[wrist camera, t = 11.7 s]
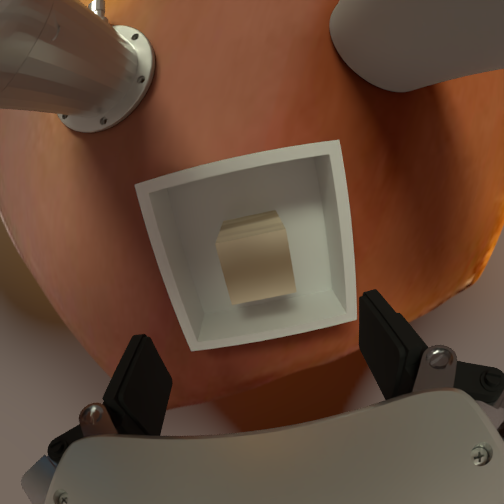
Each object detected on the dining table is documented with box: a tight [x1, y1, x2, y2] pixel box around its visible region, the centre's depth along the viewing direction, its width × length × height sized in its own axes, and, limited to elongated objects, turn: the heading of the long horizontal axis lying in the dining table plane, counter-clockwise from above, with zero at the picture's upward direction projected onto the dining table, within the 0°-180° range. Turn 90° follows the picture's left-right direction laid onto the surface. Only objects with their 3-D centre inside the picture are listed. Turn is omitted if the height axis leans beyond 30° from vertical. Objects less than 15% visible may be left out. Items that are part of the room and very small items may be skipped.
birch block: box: [215, 210, 296, 305], centre depth 23 cm, size 5×5×7 cm
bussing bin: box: [135, 140, 357, 351], centre depth 24 cm, size 16×16×6 cm
